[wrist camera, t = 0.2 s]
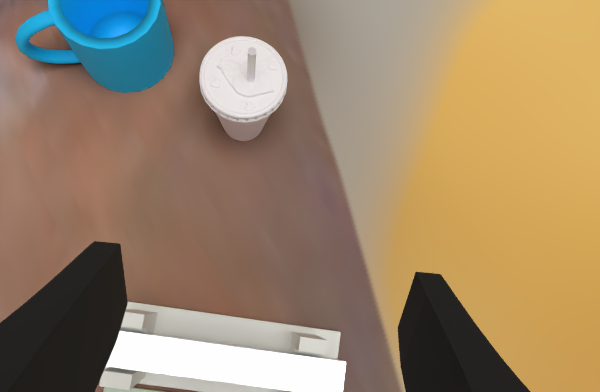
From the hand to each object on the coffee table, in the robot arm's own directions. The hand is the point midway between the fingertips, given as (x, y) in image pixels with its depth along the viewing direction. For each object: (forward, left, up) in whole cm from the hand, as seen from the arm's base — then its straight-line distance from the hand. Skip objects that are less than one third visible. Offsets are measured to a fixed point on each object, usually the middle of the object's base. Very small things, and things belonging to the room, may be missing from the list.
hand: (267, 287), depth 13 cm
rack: (-5, +1, -31) cm, 32 cm away
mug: (+19, +16, -31) cm, 40 cm away
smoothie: (+15, +3, -31) cm, 35 cm away
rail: (-5, +1, -27) cm, 27 cm away
